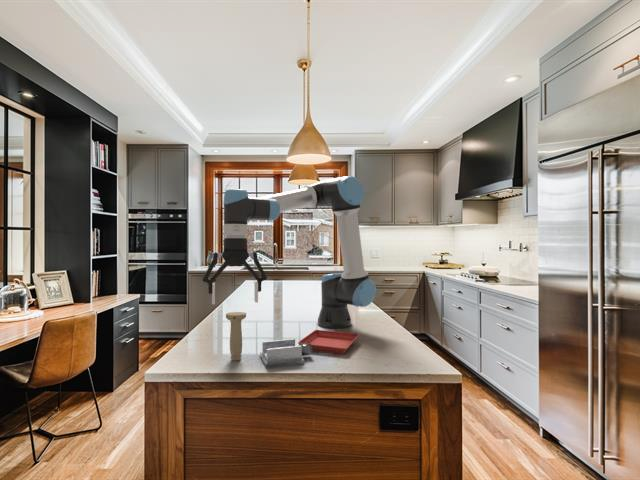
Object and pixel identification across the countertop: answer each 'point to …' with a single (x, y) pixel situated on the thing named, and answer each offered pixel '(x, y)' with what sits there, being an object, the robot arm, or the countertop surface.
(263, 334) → the countertop surface
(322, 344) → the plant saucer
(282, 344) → the valve body
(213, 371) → the countertop surface
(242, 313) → the handle
